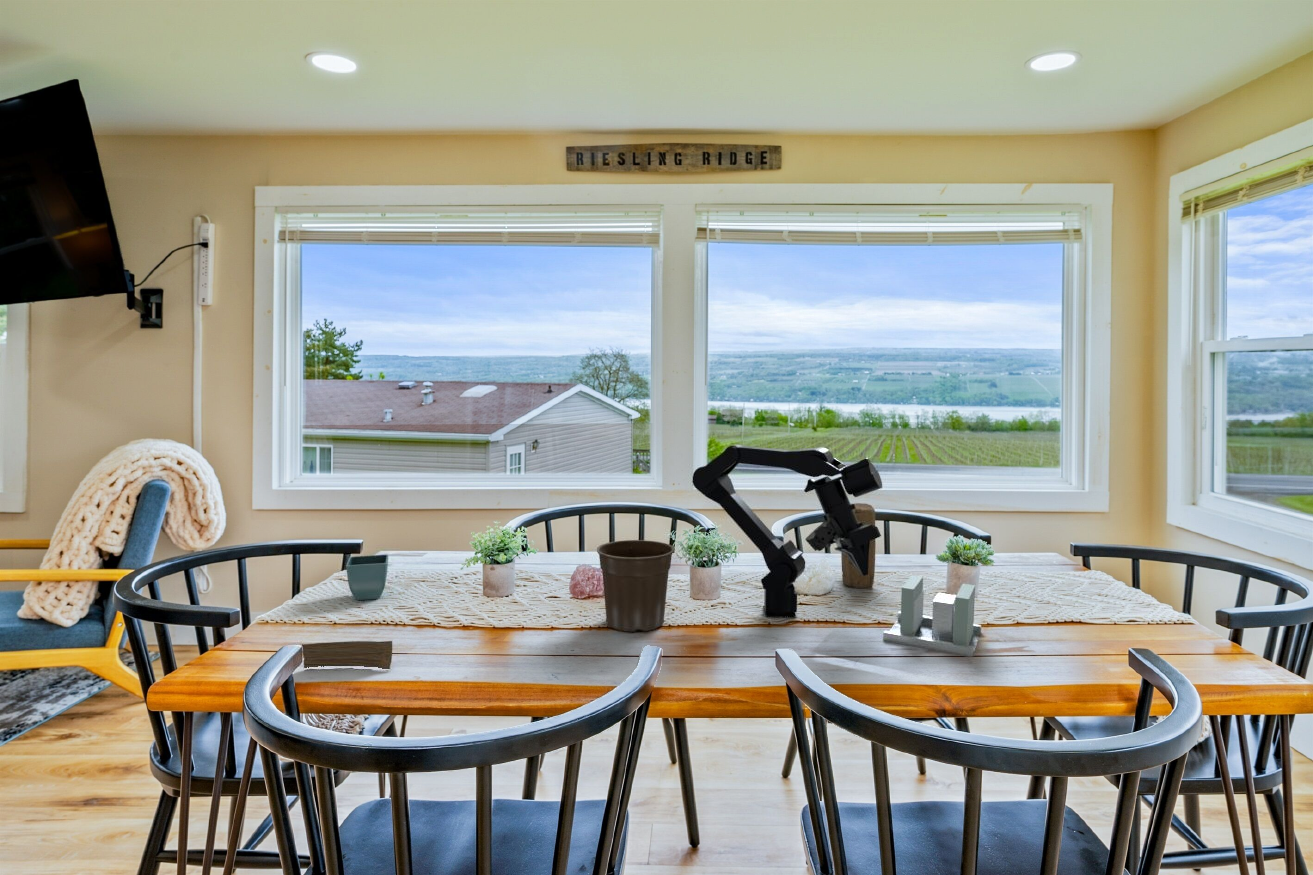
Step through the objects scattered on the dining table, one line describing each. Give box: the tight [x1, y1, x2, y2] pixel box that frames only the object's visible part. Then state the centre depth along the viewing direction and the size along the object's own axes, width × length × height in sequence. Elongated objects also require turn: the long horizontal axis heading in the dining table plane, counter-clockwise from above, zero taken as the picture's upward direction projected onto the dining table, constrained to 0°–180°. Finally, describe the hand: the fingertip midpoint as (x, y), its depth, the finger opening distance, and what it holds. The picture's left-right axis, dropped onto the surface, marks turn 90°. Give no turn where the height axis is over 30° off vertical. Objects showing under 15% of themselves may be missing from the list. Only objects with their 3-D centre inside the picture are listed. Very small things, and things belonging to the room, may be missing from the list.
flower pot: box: [345, 554, 389, 601], centre depth 167 cm, size 9×9×9 cm
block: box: [840, 502, 876, 589], centre depth 179 cm, size 11×8×20 cm
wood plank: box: [301, 640, 393, 670], centre depth 126 cm, size 15×2×5 cm, turn 94°
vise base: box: [882, 611, 982, 658], centre depth 141 cm, size 16×15×2 cm
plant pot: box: [596, 539, 675, 633], centre depth 150 cm, size 16×16×16 cm
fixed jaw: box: [953, 583, 976, 646], centre depth 138 cm, size 2×10×10 cm, turn 150°
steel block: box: [931, 592, 957, 643], centre depth 139 cm, size 4×6×8 cm, turn 150°
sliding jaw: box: [900, 574, 925, 636], centre depth 142 cm, size 2×10×10 cm, turn 150°
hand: (865, 575), depth 148 cm, fingers closed
